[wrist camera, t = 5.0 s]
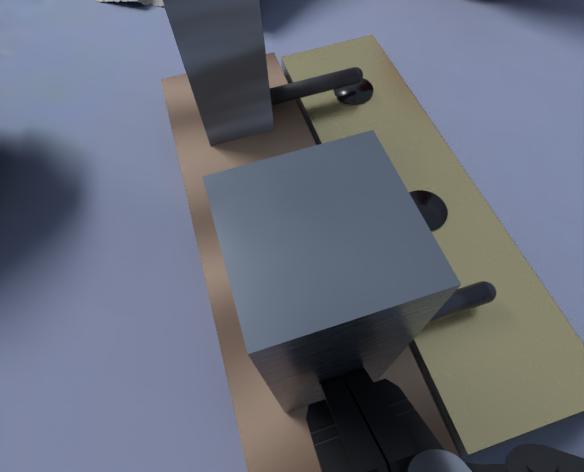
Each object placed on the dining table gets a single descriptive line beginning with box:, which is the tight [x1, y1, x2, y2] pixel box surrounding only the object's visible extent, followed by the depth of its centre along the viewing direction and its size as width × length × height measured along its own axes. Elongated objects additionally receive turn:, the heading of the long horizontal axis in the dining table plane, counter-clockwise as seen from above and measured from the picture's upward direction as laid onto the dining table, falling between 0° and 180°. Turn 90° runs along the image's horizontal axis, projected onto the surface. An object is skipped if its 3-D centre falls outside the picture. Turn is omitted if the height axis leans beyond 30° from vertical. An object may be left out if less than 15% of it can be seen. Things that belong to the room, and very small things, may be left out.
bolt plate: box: [281, 35, 584, 455], centre depth 23 cm, size 26×7×1 cm, turn 18°
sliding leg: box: [202, 130, 497, 414], centre depth 13 cm, size 4×10×11 cm, turn 107°
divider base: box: [161, 0, 461, 472], centre depth 17 cm, size 26×12×12 cm, turn 18°
